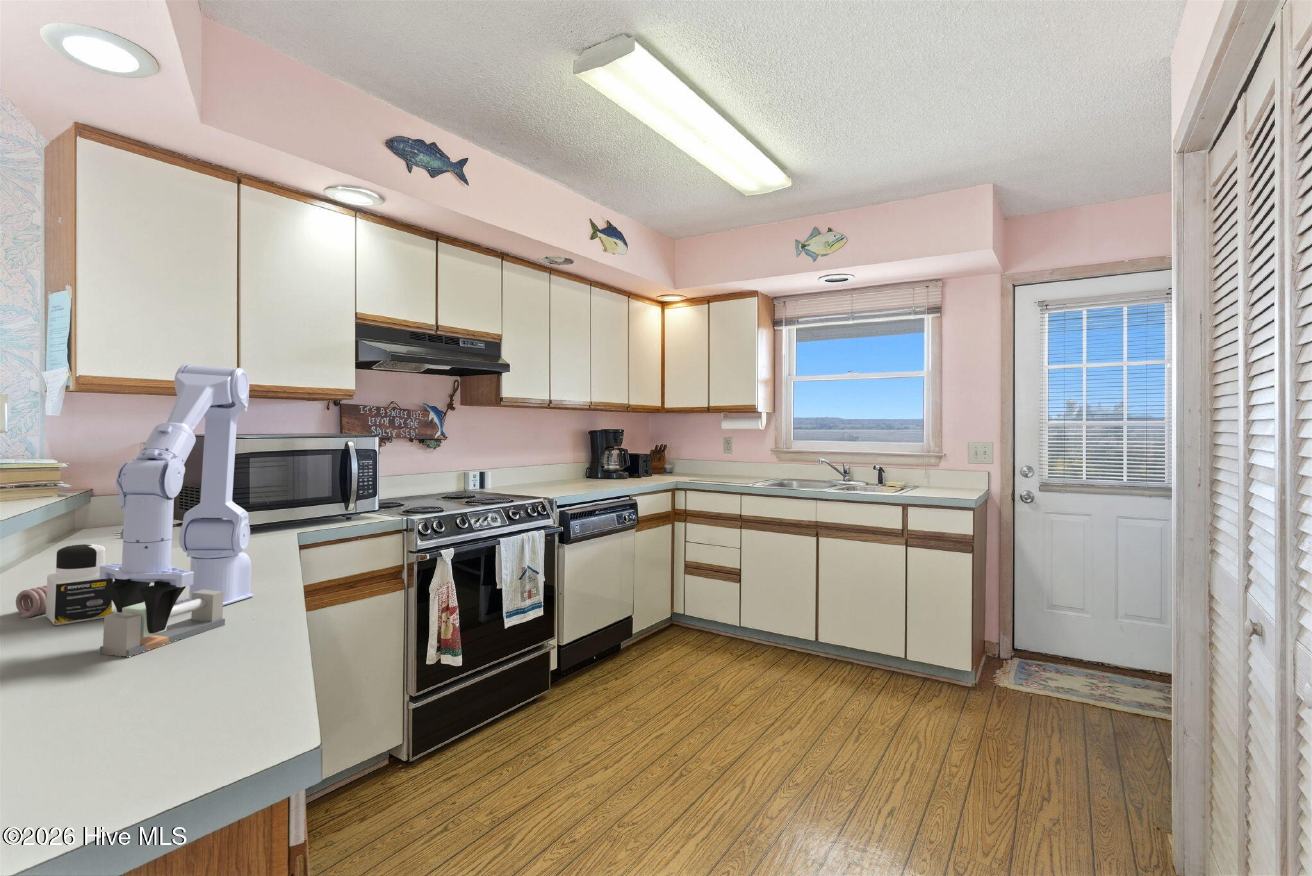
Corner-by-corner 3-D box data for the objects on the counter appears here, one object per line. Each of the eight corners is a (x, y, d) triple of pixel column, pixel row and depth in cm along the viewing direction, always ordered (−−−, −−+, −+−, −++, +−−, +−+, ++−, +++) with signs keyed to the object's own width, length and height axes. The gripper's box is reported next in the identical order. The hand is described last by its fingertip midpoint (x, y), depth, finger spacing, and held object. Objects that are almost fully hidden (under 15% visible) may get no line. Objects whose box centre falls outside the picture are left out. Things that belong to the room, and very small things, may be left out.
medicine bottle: (54, 626, 100) (57, 551, 100) (45, 616, 104) (48, 545, 104) (111, 617, 106) (115, 546, 106) (101, 608, 110) (104, 540, 110)
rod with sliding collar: (199, 621, 105) (200, 589, 105) (224, 624, 105) (226, 592, 105) (99, 653, 90) (101, 615, 90) (128, 657, 89) (130, 619, 89)
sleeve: (144, 627, 96) (145, 601, 96) (166, 630, 95) (167, 604, 95) (121, 634, 92) (122, 607, 92) (143, 637, 91) (145, 610, 91)
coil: (36, 593, 103) (137, 570, 121) (11, 588, 103) (115, 566, 121) (32, 621, 103) (133, 594, 121) (7, 616, 103) (112, 589, 121)
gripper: (79, 539, 91) (75, 632, 91) (163, 548, 88) (159, 643, 88) (128, 532, 98) (124, 619, 98) (207, 540, 95) (203, 628, 95)
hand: (143, 629), depth 93 cm, fingers closed on sleeve, 4 cm apart
